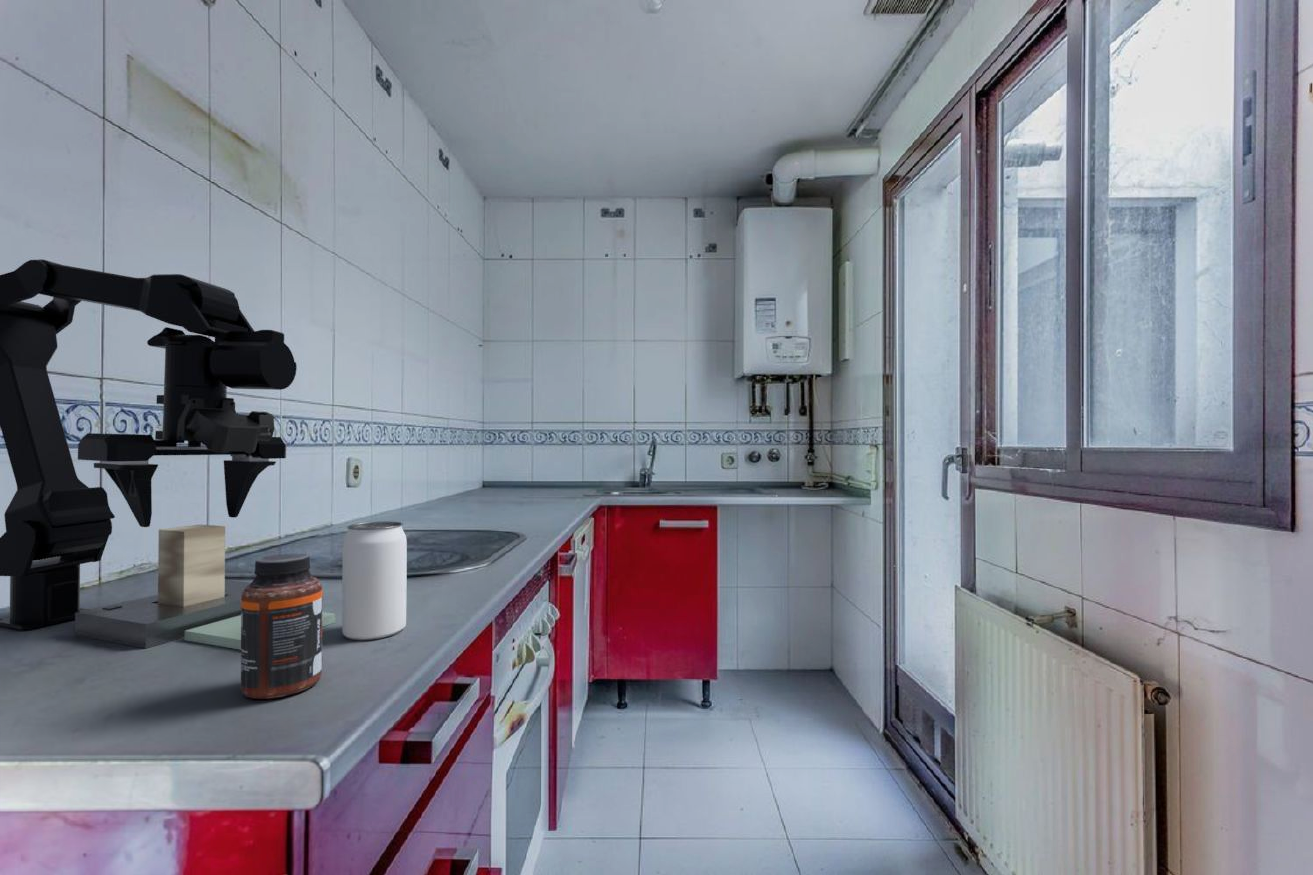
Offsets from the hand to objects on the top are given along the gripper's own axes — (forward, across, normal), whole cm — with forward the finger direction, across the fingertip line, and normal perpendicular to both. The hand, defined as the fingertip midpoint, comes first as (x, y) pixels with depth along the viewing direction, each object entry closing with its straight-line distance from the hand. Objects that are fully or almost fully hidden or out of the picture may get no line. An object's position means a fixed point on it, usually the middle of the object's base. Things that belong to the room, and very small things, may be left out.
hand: (191, 521), depth 67 cm
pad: (+12, +2, -10) cm, 16 cm away
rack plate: (+12, +1, +2) cm, 12 cm away
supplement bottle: (+12, -8, -27) cm, 30 cm away
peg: (+12, +1, +2) cm, 12 cm away
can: (+12, +6, -22) cm, 26 cm away
